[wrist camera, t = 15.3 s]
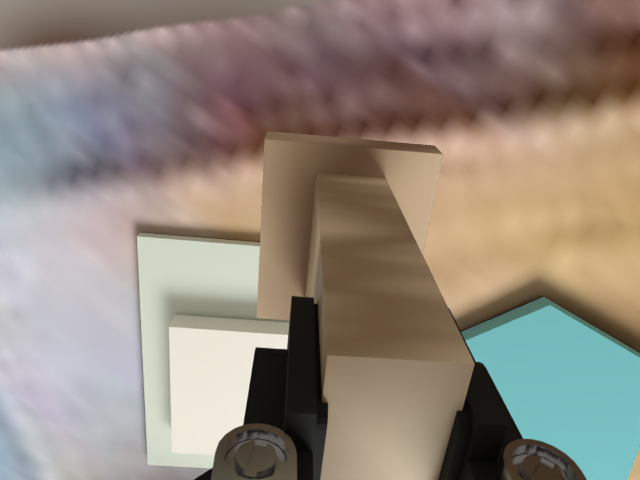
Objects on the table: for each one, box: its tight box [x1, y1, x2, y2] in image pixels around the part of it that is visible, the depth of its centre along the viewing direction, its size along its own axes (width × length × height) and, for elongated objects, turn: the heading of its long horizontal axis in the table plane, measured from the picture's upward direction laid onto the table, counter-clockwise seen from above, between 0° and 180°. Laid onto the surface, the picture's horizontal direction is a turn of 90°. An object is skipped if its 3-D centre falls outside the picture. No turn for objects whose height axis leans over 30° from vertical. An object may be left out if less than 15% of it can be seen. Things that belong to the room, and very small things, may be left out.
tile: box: [169, 315, 289, 455], centre depth 33 cm, size 2×10×9 cm
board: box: [137, 233, 289, 468], centre depth 34 cm, size 15×18×1 cm
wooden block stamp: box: [257, 131, 475, 480], centre depth 14 cm, size 6×7×11 cm
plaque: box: [461, 297, 640, 480], centre depth 36 cm, size 18×2×20 cm
